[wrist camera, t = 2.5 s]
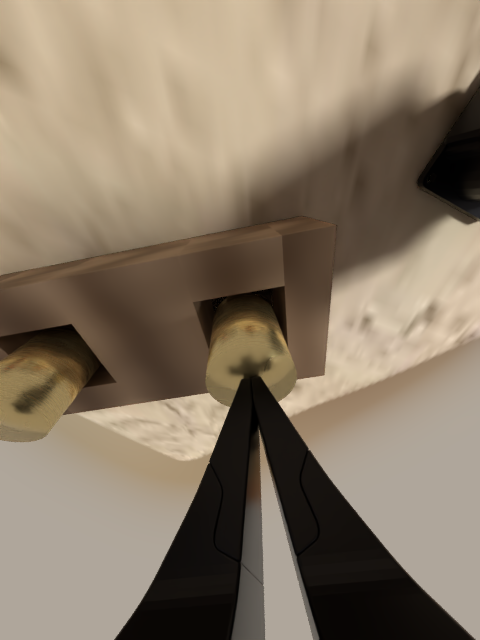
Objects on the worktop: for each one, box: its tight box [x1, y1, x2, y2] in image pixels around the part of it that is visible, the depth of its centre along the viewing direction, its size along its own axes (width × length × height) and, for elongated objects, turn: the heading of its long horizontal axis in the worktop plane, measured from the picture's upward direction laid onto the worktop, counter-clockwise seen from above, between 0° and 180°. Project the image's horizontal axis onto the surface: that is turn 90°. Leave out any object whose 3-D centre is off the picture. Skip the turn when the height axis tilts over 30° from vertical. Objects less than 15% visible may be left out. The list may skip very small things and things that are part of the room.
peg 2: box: [205, 293, 297, 407], centre depth 11 cm, size 4×4×5 cm
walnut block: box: [0, 216, 337, 415], centre depth 14 cm, size 22×10×5 cm, turn 100°
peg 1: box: [0, 326, 102, 442], centre depth 11 cm, size 4×4×5 cm
